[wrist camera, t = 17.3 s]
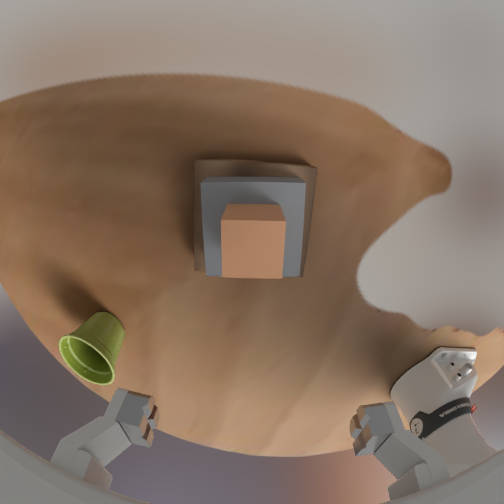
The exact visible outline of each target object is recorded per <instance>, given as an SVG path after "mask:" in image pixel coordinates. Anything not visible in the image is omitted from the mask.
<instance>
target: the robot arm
mask: <svg viewBox="0 0 504 504" xmlns="http://www.w3.org/2000/svg"><path fill="white" fill-rule="evenodd" d="M476 356H477V351H476V349H466V348H446V347H440V348H438V349H436V350H435V351H434V352H433V353H432V354H431V355H430V356H429V357H428V358H426V359H425V360H423V361H422V362H420V363H418V364H417V365H415V366H414V367H412V368H411V369H410V370H408V371H407V372H406V373H405V374H404V375H403V376H401V377H400V379H399V380H398V381H397V382H396V383H395V385H394V386H393V388H392V390H391V394H390V397H391V399H392V400H393V401H394V402H395V403H394V402H393V401H389V402H384V403H376V404H369V405H362V406H359V407H358V409H357V410H356V411H357V414H356V415H354V416H353V417H352V419H351V421H350V434H351V436H352V437H353V438H354V439H355V441H354V443H353V447H354V451H355V456H361V455H368V454H374V456H375V457H376V458H377V459H378V460H379V461H380V462H381V463H382V464H383V465H384V466H385V467H386V468H387V469H388V470H389V471H390V472H391V473H392V474H393V475H394V476H395V477H396V478H397V479H398V480H396V481H395V482H394V483H392V484H391V485H390V486H389V487H388V491H389V496H390V501H388V502H384V503H381V504H504V449H501V450H499V451H497V450H495V449H494V448H492V447H491V446H490V445H489V444H488V443H487V442H486V441H485V439H484V438H483V437H482V435H481V433H480V431H479V430H478V428H477V426H476V425H475V423H474V421H473V419H472V417H471V414H472V413H473V412H474V411H475V410H476V408H477V407H476V408H475V409H474V410H473V408H474V406H475V404H474V405H473V406H472V407H471V405H470V399H469V398H470V395H471V393H472V391H473V388H474V386H475V383H476V380H477V371H476V369H475V367H474V365H473V363H474V361H475V359H476ZM395 404H396V405H397V406H398V407H399V409H400V410H401V412H402V413H403V415H404V416H405V418H406V420H407V421H408V423H409V425H410V430H411V432H410V431H409V430H405V428H404V426H403V423H402V420H401V418H400V415H399V413H398V410H397V408H396V405H395ZM158 420H159V410H158V407H157V406H156V405H155V398H154V396H151V395H146V394H142V393H137V392H133V391H130V390H126V389H122V388H118V389H117V390H116V391H115V393H114V395H113V397H112V399H111V402H110V404H109V406H108V408H107V410H106V412H105V415H104V416H103V417H101V416H100V417H98V418H97V419H95V420H93V421H92V422H90V423H88V424H87V425H85V426H83V427H81V428H80V429H78V430H76V431H75V432H73V433H71V434H69V435H68V436H66V437H64V438H62V439H61V440H60V443H59V445H58V447H57V449H56V451H55V453H54V455H53V457H52V459H51V462H48V461H46V460H44V459H43V458H41V457H39V456H38V455H36V454H35V453H33V452H31V451H30V450H28V449H27V448H25V447H24V446H22V445H20V444H19V443H18V442H16V441H15V440H14V439H12V438H11V437H10V436H8V435H7V434H5V433H4V432H3V431H1V430H0V504H150V503H146V502H142V501H139V500H136V499H133V498H129V497H126V496H123V495H120V494H117V493H115V492H112V491H109V488H110V484H111V481H112V475H111V474H110V473H109V472H108V471H107V470H106V469H105V468H104V466H105V465H107V464H108V463H109V462H110V461H112V460H113V459H114V458H115V457H117V456H118V455H119V454H120V453H121V452H123V451H124V450H125V449H126V448H127V447H129V446H130V445H131V443H133V444H137V445H141V446H145V447H151V444H152V440H153V437H154V434H153V432H152V429H154V428H156V427H157V424H158Z"/></svg>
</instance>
